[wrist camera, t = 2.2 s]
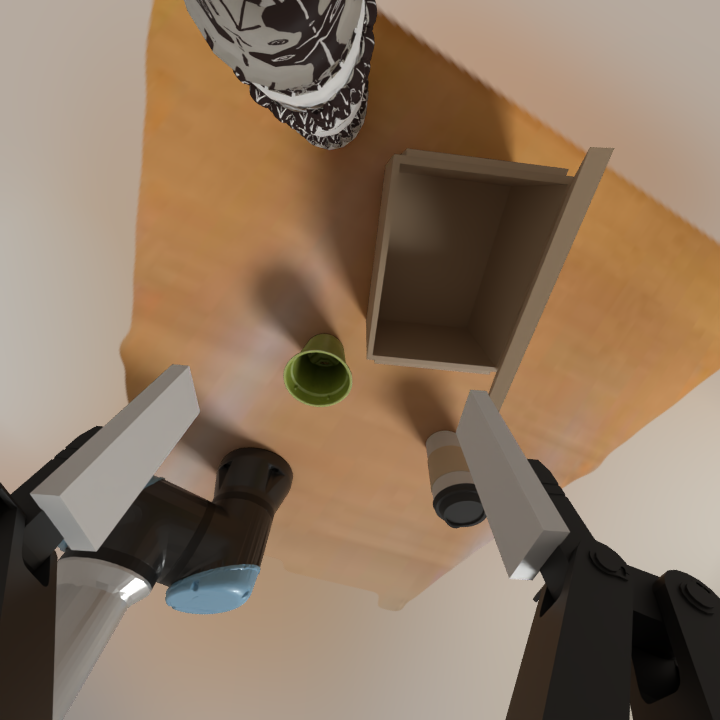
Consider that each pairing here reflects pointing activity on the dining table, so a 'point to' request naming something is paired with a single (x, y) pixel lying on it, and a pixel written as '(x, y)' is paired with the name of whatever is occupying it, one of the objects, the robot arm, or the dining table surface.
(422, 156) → the carton
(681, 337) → the dining table surface
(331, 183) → the dining table surface
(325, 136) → the decorative candle
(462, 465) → the coffee cup
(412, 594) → the dining table surface
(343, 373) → the plant pot
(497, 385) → the flap
